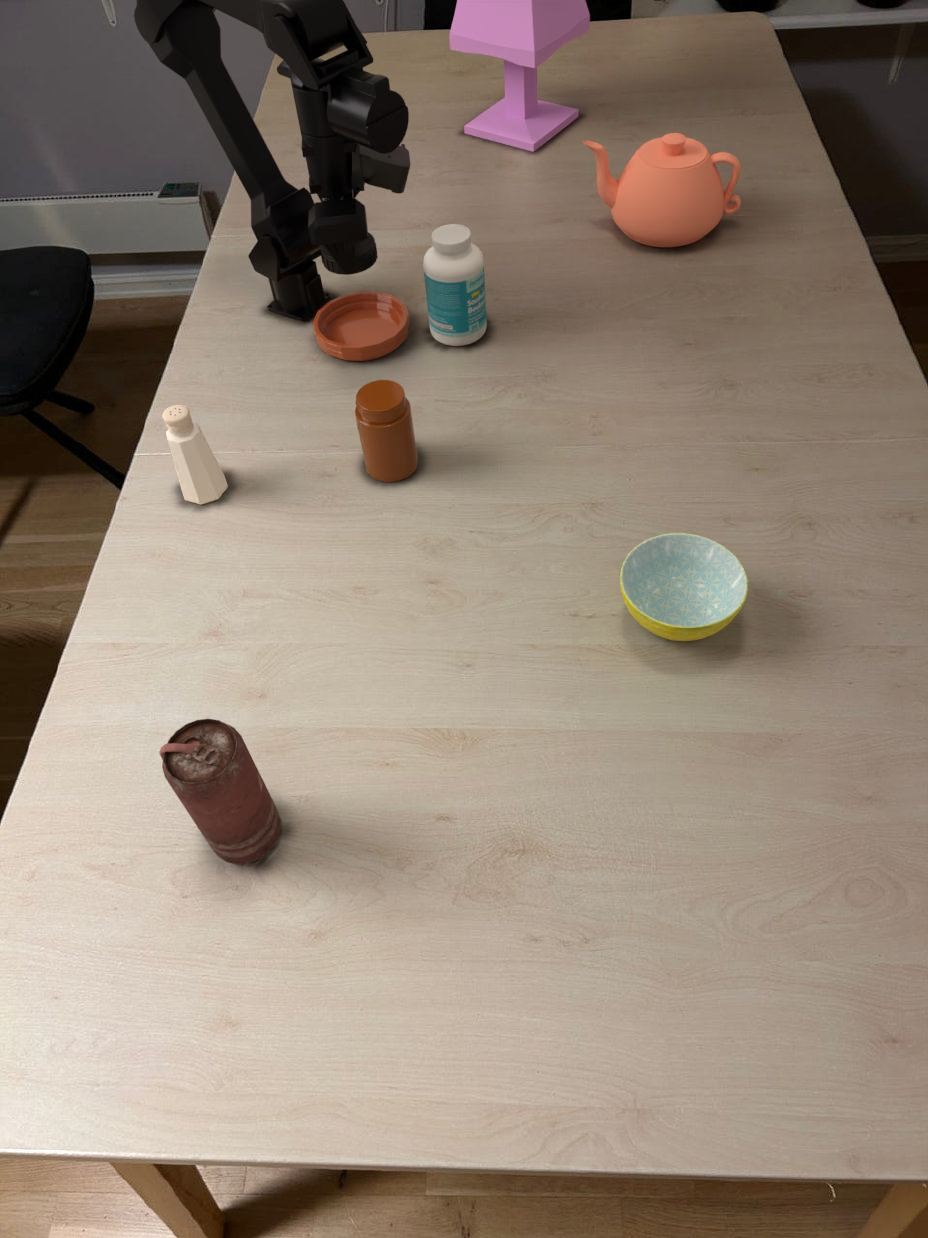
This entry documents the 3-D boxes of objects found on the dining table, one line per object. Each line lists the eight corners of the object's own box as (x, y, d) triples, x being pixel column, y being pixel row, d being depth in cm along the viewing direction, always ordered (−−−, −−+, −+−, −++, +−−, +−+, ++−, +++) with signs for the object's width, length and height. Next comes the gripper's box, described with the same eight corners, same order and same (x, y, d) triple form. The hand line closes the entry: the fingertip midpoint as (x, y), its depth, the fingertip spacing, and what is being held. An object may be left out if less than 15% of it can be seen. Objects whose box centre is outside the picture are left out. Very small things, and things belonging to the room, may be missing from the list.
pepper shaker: (211, 465, 108) (182, 388, 100) (238, 487, 106) (211, 410, 97) (171, 489, 106) (139, 413, 97) (198, 512, 104) (167, 436, 95)
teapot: (578, 255, 130) (580, 166, 120) (582, 197, 140) (585, 111, 130) (740, 255, 127) (756, 165, 118) (733, 197, 137) (748, 108, 127)
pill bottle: (481, 350, 118) (475, 252, 108) (424, 346, 120) (413, 249, 109) (492, 316, 123) (487, 218, 112) (437, 312, 124) (427, 215, 113)
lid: (378, 271, 110) (376, 255, 109) (322, 277, 110) (319, 261, 109) (376, 241, 115) (374, 225, 113) (322, 247, 115) (319, 231, 113)
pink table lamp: (509, 96, 162) (502, -159, 135) (586, 115, 156) (595, -149, 128) (456, 134, 155) (437, -128, 127) (535, 155, 149) (533, -116, 121)
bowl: (708, 686, 85) (718, 646, 80) (595, 637, 89) (598, 596, 84) (755, 601, 91) (767, 559, 86) (646, 559, 95) (652, 516, 90)
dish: (298, 348, 121) (294, 331, 119) (352, 299, 127) (349, 282, 125) (376, 373, 117) (373, 357, 115) (427, 321, 123) (425, 304, 121)
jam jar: (355, 472, 106) (340, 403, 98) (384, 440, 109) (372, 371, 101) (399, 488, 104) (388, 419, 96) (428, 455, 107) (419, 386, 99)
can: (211, 804, 81) (159, 719, 70) (283, 796, 81) (243, 710, 70) (205, 870, 77) (149, 791, 66) (281, 862, 77) (238, 781, 66)
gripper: (405, 158, 94) (420, 295, 107) (397, 79, 106) (411, 211, 118) (295, 170, 94) (323, 305, 107) (299, 89, 106) (324, 220, 118)
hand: (349, 258), depth 112 cm, fingers closed on lid, 6 cm apart
